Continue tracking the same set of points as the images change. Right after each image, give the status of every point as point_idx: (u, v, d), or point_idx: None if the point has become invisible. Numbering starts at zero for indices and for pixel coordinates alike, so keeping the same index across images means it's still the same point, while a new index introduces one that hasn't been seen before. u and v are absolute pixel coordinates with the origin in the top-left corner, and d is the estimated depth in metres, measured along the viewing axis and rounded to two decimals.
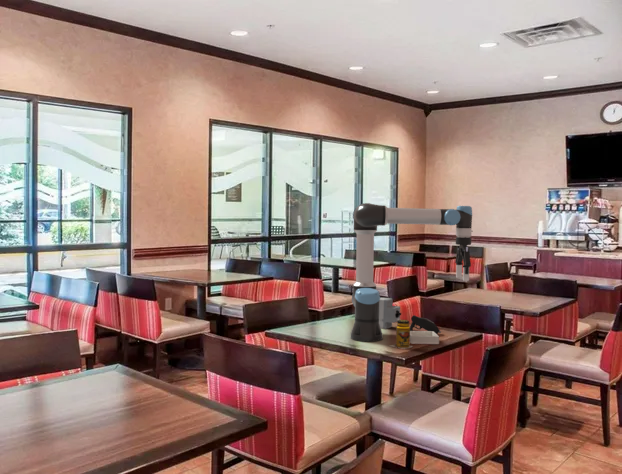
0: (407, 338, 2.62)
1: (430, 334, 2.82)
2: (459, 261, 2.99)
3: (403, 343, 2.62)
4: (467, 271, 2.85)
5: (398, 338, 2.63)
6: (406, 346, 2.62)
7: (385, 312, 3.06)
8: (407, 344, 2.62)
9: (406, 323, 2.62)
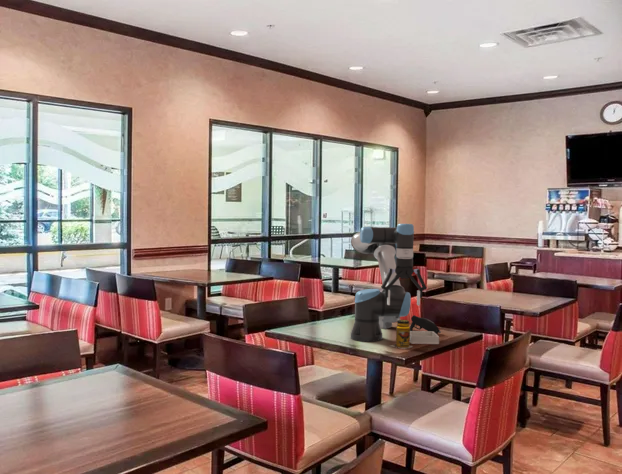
0: (407, 338, 2.62)
1: (430, 334, 2.82)
2: None
3: (403, 343, 2.62)
4: (385, 294, 2.64)
5: (398, 338, 2.63)
6: (406, 346, 2.62)
7: None
8: (407, 344, 2.62)
9: (406, 323, 2.62)
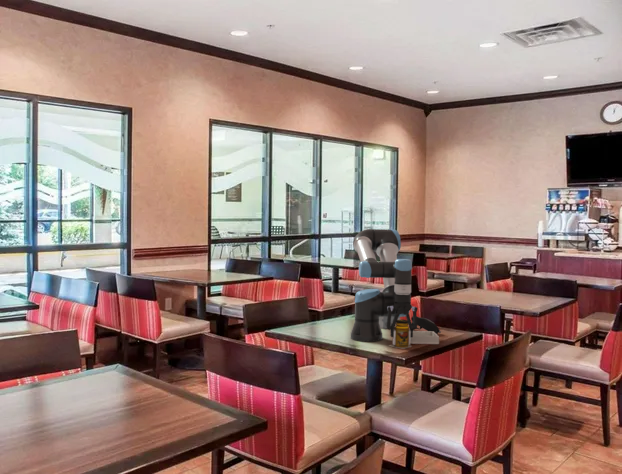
0: (406, 338, 2.62)
1: (430, 334, 2.82)
2: (408, 324, 2.65)
3: (402, 343, 2.62)
4: None
5: (397, 338, 2.63)
6: (405, 346, 2.62)
7: None
8: (406, 344, 2.62)
9: (405, 323, 2.62)
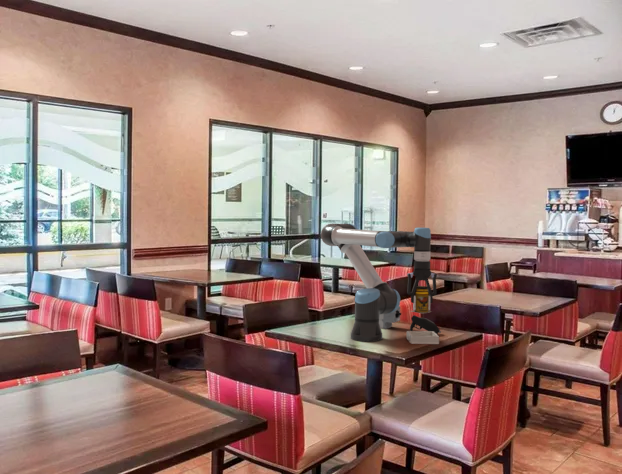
0: (426, 303, 2.71)
1: (430, 334, 2.82)
2: (428, 290, 2.75)
3: (422, 308, 2.71)
4: (411, 299, 2.75)
5: (417, 303, 2.72)
6: (425, 311, 2.71)
7: None
8: (426, 309, 2.72)
9: (425, 289, 2.71)
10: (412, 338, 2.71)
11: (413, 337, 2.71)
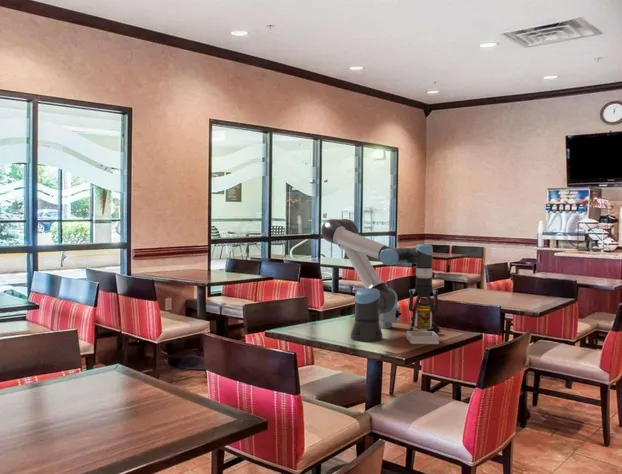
0: (428, 319, 2.74)
1: (430, 334, 2.82)
2: None
3: (424, 324, 2.73)
4: None
5: (419, 319, 2.74)
6: (426, 327, 2.74)
7: None
8: (428, 325, 2.74)
9: (427, 305, 2.74)
10: (412, 338, 2.71)
11: (413, 337, 2.71)
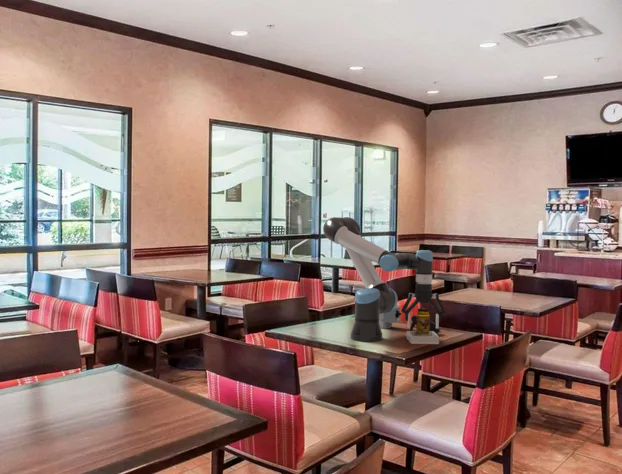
0: (427, 325, 2.74)
1: (430, 334, 2.82)
2: (435, 310, 2.77)
3: (423, 330, 2.74)
4: (405, 317, 2.77)
5: (418, 325, 2.75)
6: (426, 333, 2.74)
7: None
8: (427, 331, 2.74)
9: (426, 311, 2.74)
10: (412, 338, 2.71)
11: (413, 337, 2.71)
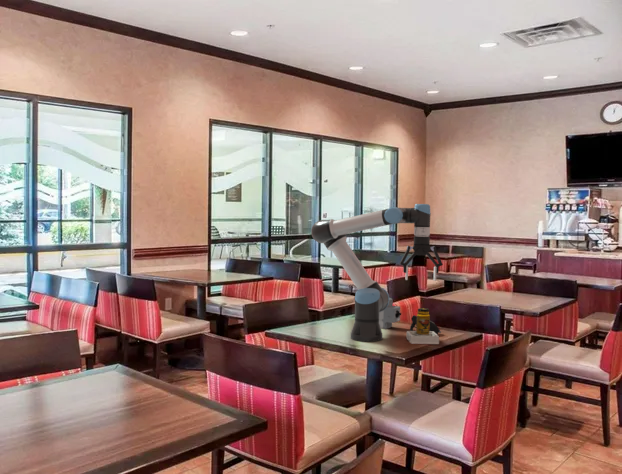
0: (427, 325, 2.74)
1: (430, 334, 2.82)
2: (433, 262, 2.83)
3: (423, 330, 2.74)
4: (403, 269, 2.83)
5: (418, 325, 2.75)
6: (426, 333, 2.74)
7: (385, 312, 3.06)
8: (427, 331, 2.74)
9: (426, 311, 2.74)
10: (412, 338, 2.71)
11: (413, 337, 2.71)
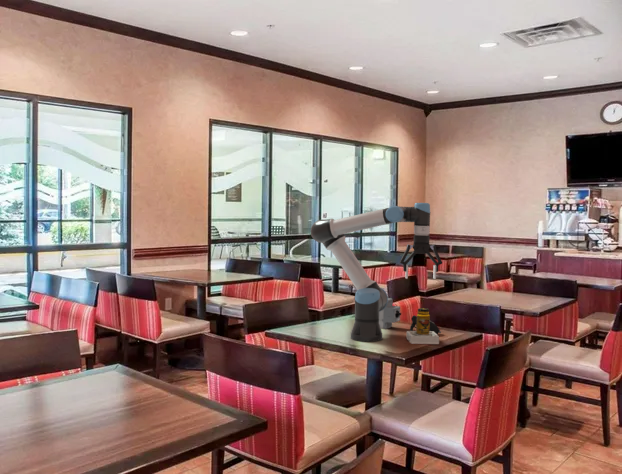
0: (427, 325, 2.74)
1: (430, 334, 2.82)
2: (433, 261, 2.84)
3: (423, 330, 2.74)
4: (403, 268, 2.84)
5: (418, 325, 2.75)
6: (426, 333, 2.74)
7: (385, 312, 3.06)
8: (427, 331, 2.74)
9: (426, 311, 2.74)
10: (412, 338, 2.71)
11: (413, 337, 2.71)
